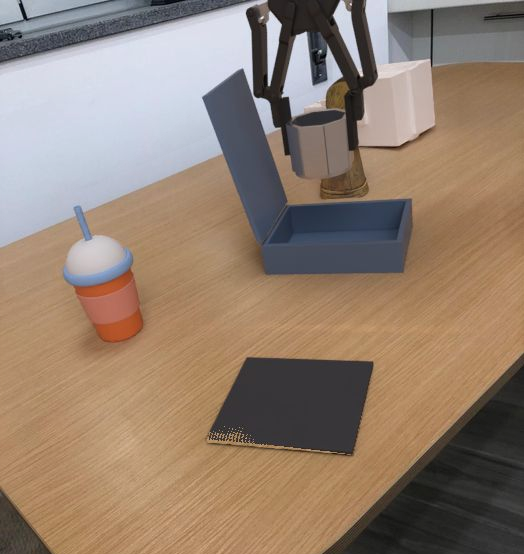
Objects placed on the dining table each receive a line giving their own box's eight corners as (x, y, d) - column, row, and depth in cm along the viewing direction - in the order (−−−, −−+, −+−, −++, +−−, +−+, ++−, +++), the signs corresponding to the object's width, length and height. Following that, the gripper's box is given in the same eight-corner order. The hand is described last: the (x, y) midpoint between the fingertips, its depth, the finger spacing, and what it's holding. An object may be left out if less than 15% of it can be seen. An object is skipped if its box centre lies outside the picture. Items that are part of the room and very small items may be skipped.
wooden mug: (375, 172, 116) (368, 72, 105) (364, 200, 105) (356, 92, 95) (329, 175, 118) (319, 79, 108) (315, 203, 108) (302, 99, 98)
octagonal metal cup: (357, 157, 80) (353, 106, 76) (346, 178, 74) (342, 124, 70) (302, 160, 82) (296, 111, 79) (288, 181, 77) (280, 129, 73)
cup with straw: (78, 350, 80) (26, 226, 70) (103, 314, 88) (59, 196, 77) (141, 347, 78) (97, 218, 68) (161, 310, 86) (124, 188, 75)
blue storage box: (412, 230, 92) (411, 198, 89) (403, 277, 81) (401, 242, 78) (290, 235, 99) (286, 204, 96) (266, 279, 88) (260, 246, 85)
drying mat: (373, 365, 67) (373, 361, 66) (353, 456, 56) (352, 451, 56) (247, 360, 72) (246, 356, 71) (206, 443, 61) (205, 439, 61)
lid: (243, 67, 85) (238, 69, 86) (207, 95, 74) (201, 97, 74) (288, 201, 95) (283, 202, 96) (262, 242, 84) (257, 243, 85)
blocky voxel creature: (351, 123, 152) (451, 120, 133) (286, 157, 139) (386, 158, 120) (342, 61, 144) (447, 48, 125) (272, 90, 132) (377, 80, 112)
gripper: (197, -45, 64) (237, 164, 77) (390, -83, 58) (399, 154, 70) (221, -50, 70) (255, 145, 83) (400, -86, 63) (406, 134, 76)
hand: (321, 149), depth 77 cm, fingers closed on octagonal metal cup, 8 cm apart
